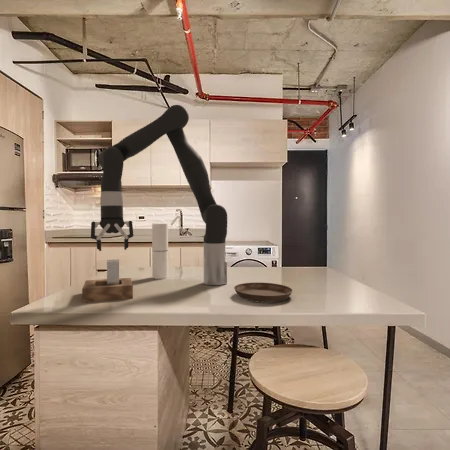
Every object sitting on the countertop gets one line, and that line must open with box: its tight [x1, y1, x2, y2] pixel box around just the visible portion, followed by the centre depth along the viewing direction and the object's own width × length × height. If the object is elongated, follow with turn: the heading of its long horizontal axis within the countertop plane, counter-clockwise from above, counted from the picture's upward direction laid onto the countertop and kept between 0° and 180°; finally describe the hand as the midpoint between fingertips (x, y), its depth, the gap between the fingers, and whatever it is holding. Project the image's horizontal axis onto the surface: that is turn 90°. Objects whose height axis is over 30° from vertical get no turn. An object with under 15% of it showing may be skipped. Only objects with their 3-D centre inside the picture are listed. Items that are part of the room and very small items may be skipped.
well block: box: [81, 277, 134, 303], centre depth 113 cm, size 16×14×4 cm
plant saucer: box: [233, 282, 294, 303], centre depth 112 cm, size 21×21×3 cm
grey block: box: [106, 258, 120, 285], centre depth 113 cm, size 7×6×12 cm
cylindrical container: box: [151, 222, 169, 280], centre depth 146 cm, size 7×7×25 cm
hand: (112, 250), depth 113 cm, fingers open, 8 cm apart
